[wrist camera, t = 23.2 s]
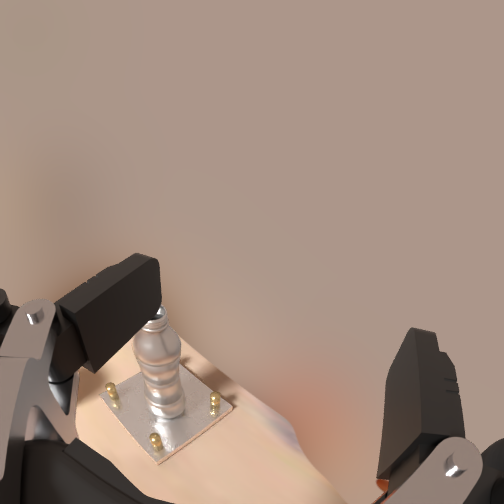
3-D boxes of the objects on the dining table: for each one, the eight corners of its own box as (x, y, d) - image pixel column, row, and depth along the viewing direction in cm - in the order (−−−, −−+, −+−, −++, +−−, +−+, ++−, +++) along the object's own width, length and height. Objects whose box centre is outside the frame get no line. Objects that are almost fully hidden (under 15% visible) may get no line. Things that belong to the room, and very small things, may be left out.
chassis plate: (232, 409, 46) (233, 395, 44) (157, 465, 34) (152, 454, 32) (170, 359, 54) (168, 343, 53) (100, 398, 43) (94, 383, 41)
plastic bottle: (164, 386, 47) (151, 289, 38) (195, 406, 44) (190, 310, 35) (138, 407, 42) (113, 311, 33) (169, 431, 39) (152, 338, 30)
